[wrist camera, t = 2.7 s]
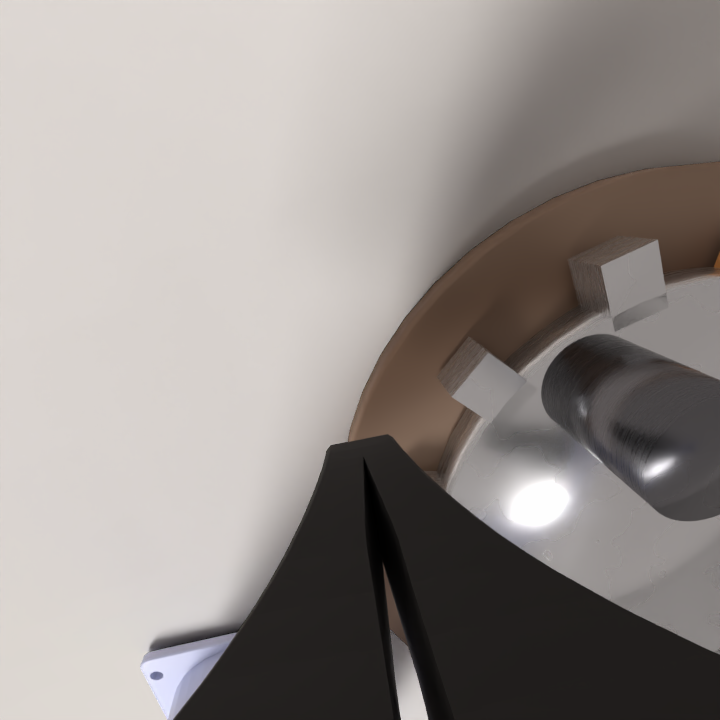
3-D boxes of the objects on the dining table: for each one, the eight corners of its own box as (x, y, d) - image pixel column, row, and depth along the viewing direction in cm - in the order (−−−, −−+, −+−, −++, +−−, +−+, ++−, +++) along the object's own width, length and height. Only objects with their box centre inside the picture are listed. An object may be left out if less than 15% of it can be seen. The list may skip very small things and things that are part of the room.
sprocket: (823, 617, 20) (1000, 759, 15) (421, 712, 19) (463, 900, 14) (977, 170, 13) (1416, 148, 8) (349, 284, 12) (380, 344, 7)
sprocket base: (812, 606, 22) (885, 664, 19) (385, 706, 21) (397, 784, 18) (972, 112, 14) (1141, 88, 11) (282, 231, 13) (275, 239, 10)
